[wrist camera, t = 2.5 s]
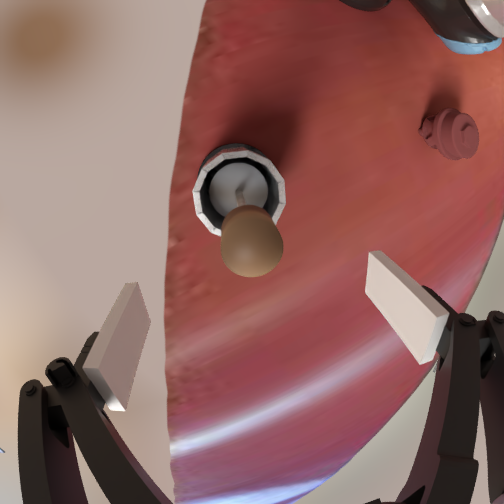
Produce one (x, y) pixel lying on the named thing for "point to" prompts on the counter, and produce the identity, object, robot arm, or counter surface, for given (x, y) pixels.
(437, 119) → the mechanical component
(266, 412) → the counter surface
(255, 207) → the plunger
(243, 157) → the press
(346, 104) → the counter surface
